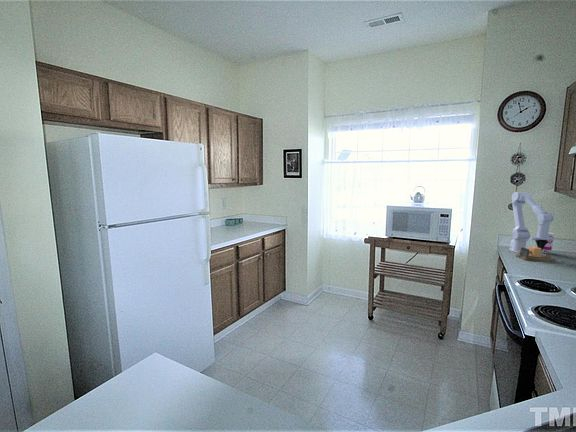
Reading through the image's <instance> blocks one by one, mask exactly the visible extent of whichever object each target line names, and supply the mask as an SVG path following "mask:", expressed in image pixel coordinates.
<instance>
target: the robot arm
mask: <svg viewBox="0 0 576 432" xmlns="http://www.w3.org/2000/svg"><path fill="white" fill-rule="evenodd" d="M511 202H512V205H511V206H512V210H513V217H514V224H515V225H514V226H515V227H514V228H513V229H512V234H511V237H512V238H513V239H511V240H510V245H509V248H508V250H509V251H511V252H514V253H515V254H520V249H521V248H527V242H528V240H530V241H535V243H536V247H538V248H541V249H542V250H543V248H544V246H545V245H546V244H547V243H548V241H547V240H549V241H553V242H554V240H555V237H554V238H552V237H548V233H549V232H550V227H551V222H553V221H554V215H553V213H550V212H548V211H547V210H545V208H543V206H542V205H538V204H537V203H536V201H535V200H534V199H533V198H532V194H531V193H530V192H528V191H526V192H525V191H524V192H522V191H521V192H520V191H519V192H518V191H516V192H513V193H512V195H511ZM525 204H527V205H528V206H529V207H531V211H532V212H533V214H534V215H535V216H536V217H537V221H538V222H537V223H538V227H537V233H536V236H531V233H530V231H529V228H528V227H526V225H525V220H524V214H523V205H525ZM542 250H541V251H542Z"/></svg>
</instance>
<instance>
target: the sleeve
mask: <svg viewBox="0 0 576 432" xmlns="http://www.w3.org/2000/svg"><path fill="white" fill-rule="evenodd" d="M528 249H529V251H532V253H530V254H529V255H530V256H532V257H540V256H541V255H542V254H541V250H542V249H541V248H538V247H537V245H536V246H528Z"/></svg>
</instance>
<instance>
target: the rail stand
mask: <svg viewBox="0 0 576 432" xmlns="http://www.w3.org/2000/svg"><path fill="white" fill-rule="evenodd" d="M530 253H532V251H529V249H527V247H525V248H521V249H520V253H515V257H517V258H519V259H521V260H524V261H527V262H529V261H530V262H556V258H553V257H552V251H551V252H541V256H540V257H532V256H530V255H529V254H530Z"/></svg>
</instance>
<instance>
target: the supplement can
mask: <svg viewBox="0 0 576 432" xmlns="http://www.w3.org/2000/svg"><path fill="white" fill-rule="evenodd" d="M548 237H552V238H554V239H555V235H554V233H553V232H550V231H549V233H548ZM547 241H548V243H547V244H546V245H545V246H544V248H543V250H542V251H541V252H551V253H552V249H553V243H554V241H549V240H547Z"/></svg>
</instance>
